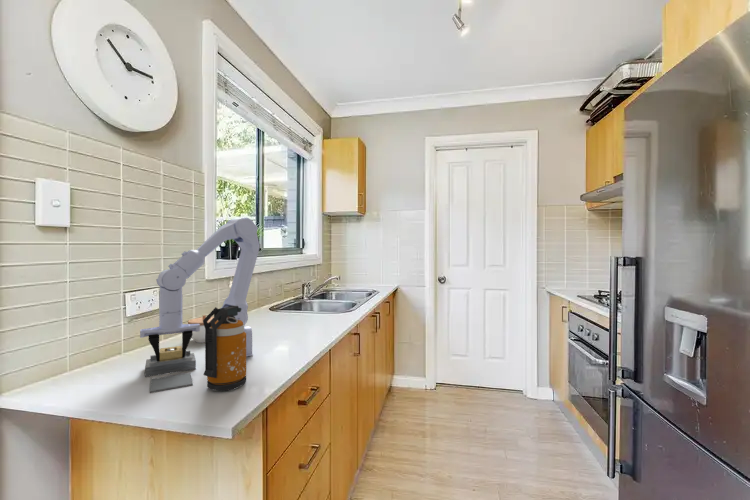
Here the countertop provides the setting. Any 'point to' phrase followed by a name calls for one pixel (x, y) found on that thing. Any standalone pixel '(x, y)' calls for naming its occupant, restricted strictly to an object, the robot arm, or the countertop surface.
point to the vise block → (169, 365)
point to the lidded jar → (200, 334)
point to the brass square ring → (170, 353)
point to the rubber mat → (170, 382)
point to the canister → (225, 349)
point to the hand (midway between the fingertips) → (171, 359)
